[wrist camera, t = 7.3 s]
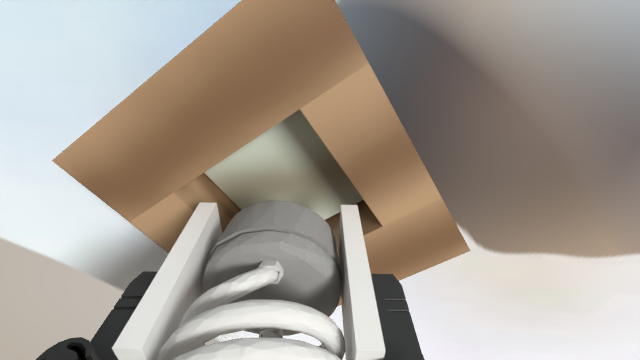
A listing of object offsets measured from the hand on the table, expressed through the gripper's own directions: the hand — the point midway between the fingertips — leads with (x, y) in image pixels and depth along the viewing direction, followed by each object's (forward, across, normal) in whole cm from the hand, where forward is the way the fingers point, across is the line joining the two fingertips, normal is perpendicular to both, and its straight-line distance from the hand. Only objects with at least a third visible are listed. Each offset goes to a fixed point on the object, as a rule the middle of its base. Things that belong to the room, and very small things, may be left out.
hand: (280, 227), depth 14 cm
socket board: (+5, 0, 0) cm, 5 cm away
